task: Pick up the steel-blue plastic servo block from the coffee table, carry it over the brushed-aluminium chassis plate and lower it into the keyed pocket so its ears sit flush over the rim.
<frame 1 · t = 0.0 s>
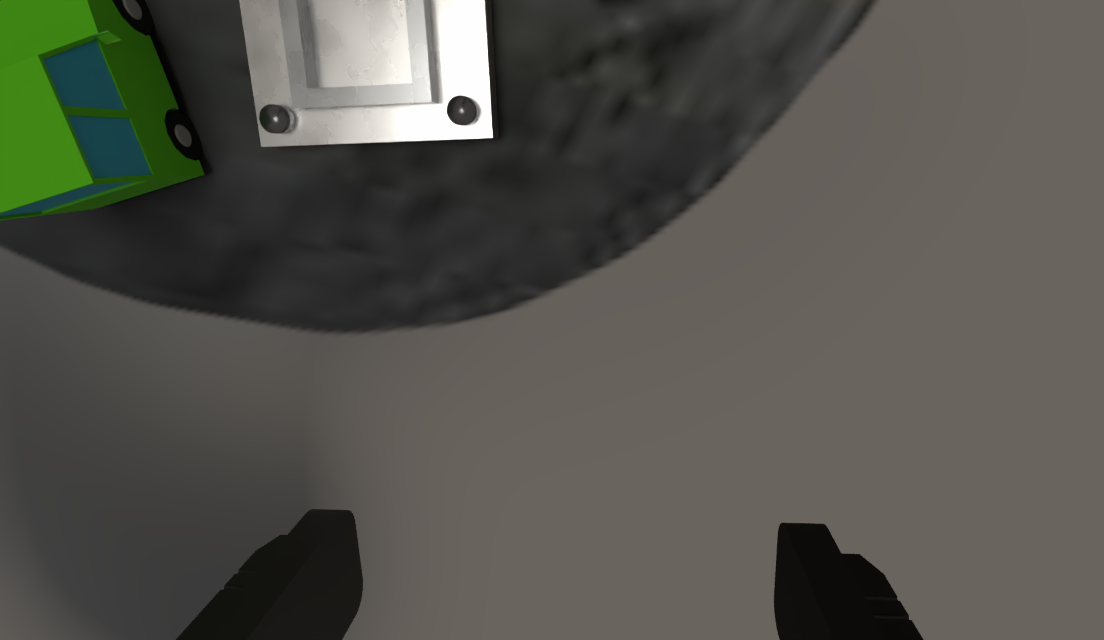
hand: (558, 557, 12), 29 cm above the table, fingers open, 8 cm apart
toy car: (121, 87, 41), on the table
chassis: (374, 18, 38), on the table
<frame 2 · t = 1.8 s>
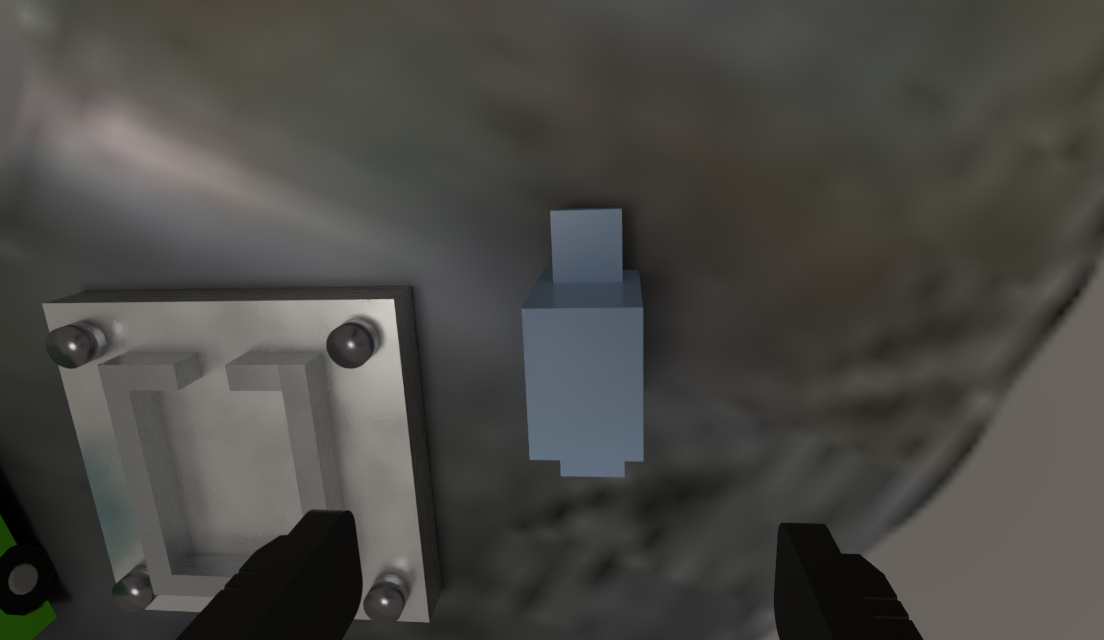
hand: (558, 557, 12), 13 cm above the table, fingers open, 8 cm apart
servo: (592, 333, 25), on the table
chassis: (270, 446, 28), on the table
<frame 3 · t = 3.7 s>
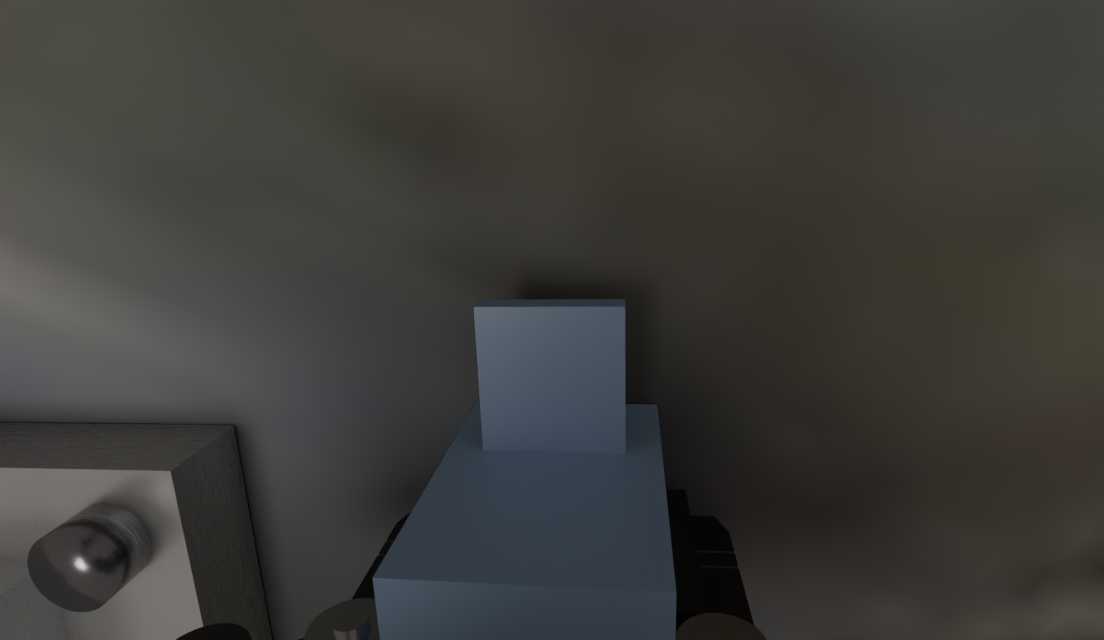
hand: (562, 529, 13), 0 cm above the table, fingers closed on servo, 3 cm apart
servo: (568, 514, 13), on the table, touching gripper
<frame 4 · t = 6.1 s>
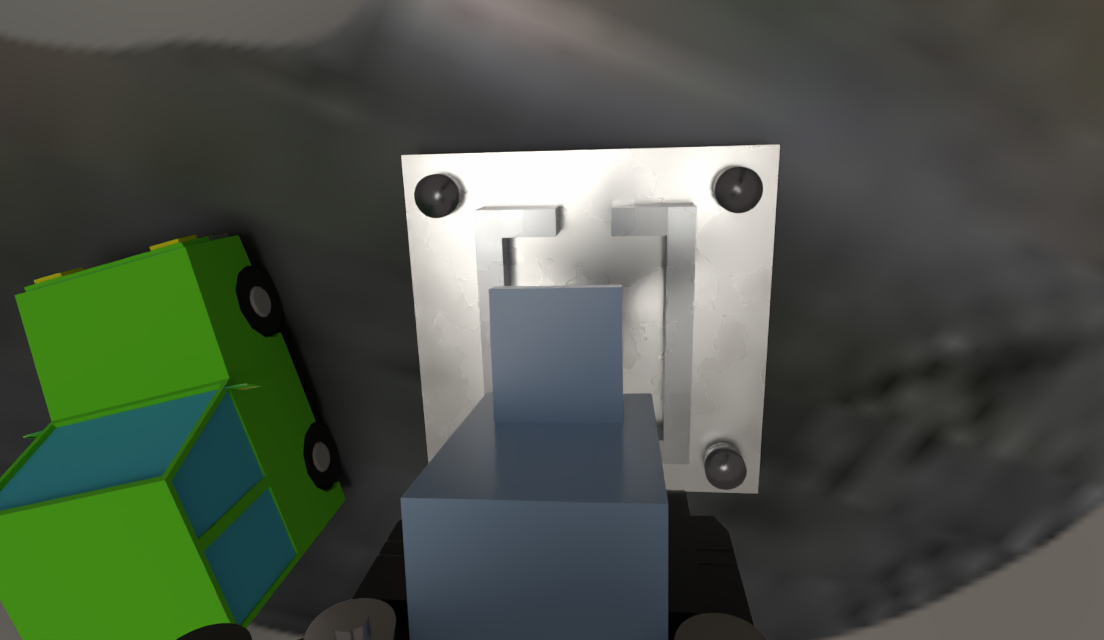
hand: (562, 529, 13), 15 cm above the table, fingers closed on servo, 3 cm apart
toy car: (233, 377, 31), on the table
servo: (570, 502, 14), point 14 cm above the table, tilted 7°, touching gripper
chassis: (589, 318, 28), on the table
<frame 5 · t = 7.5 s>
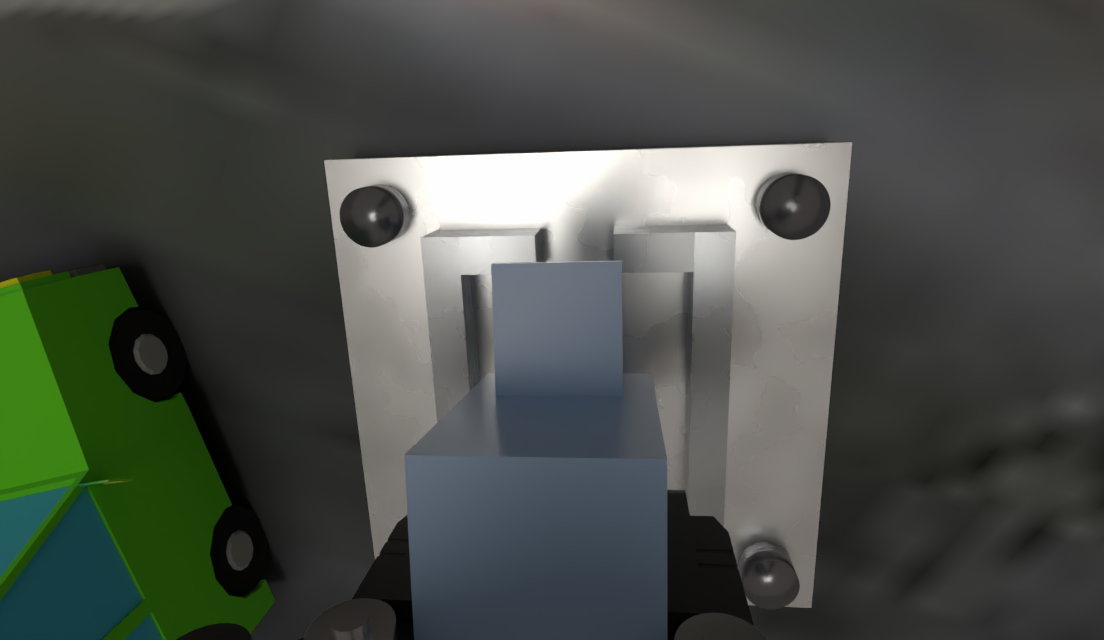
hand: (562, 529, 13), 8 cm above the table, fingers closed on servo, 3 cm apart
toy car: (131, 444, 24), on the table
servo: (570, 482, 14), point 7 cm above the table, tilted 9°, touching gripper
chassis: (585, 373, 21), on the table
when the fingers open (4 cm above the table, at t = 8.8 s): servo stays where it is, resting on chassis.
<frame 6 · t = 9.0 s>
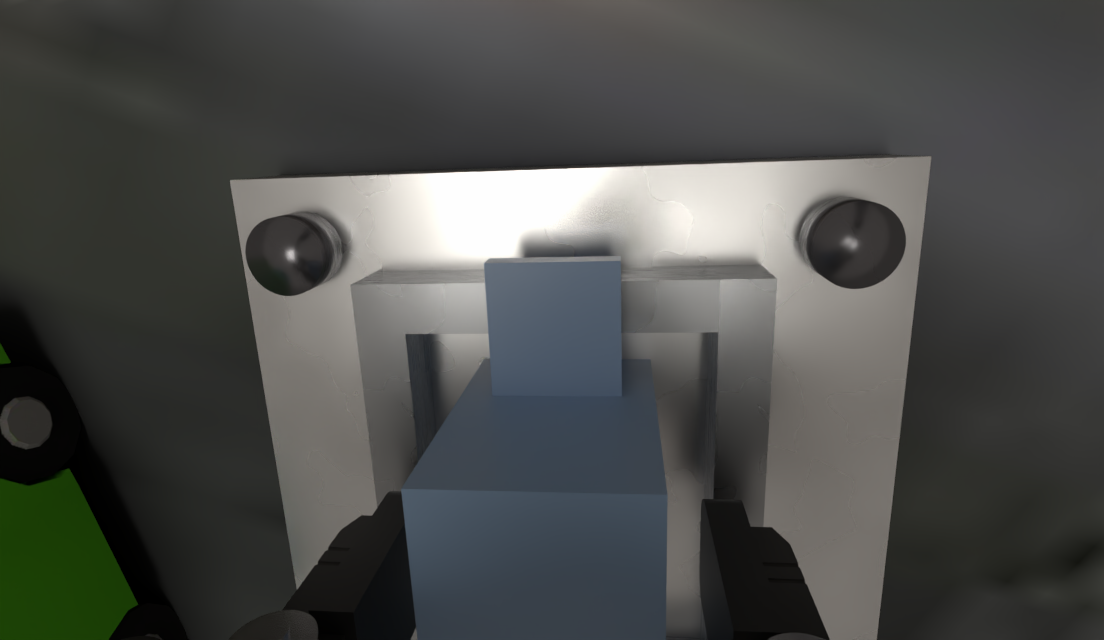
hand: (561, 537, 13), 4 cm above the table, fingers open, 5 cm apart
toy car: (22, 523, 20), on the table
servo: (569, 464, 15), point 2 cm above the table, touching chassis
chassis: (575, 444, 17), on the table
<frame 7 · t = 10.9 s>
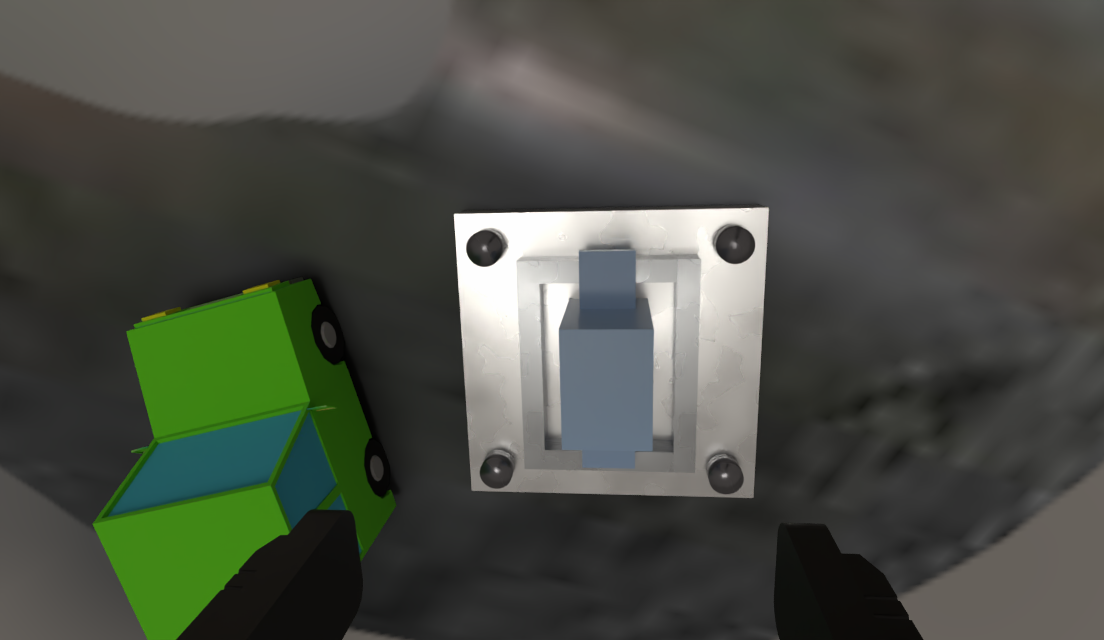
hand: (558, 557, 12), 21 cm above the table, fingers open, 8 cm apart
toy car: (298, 399, 35), on the table
servo: (608, 350, 30), point 2 cm above the table, touching chassis
chassis: (609, 348, 32), on the table
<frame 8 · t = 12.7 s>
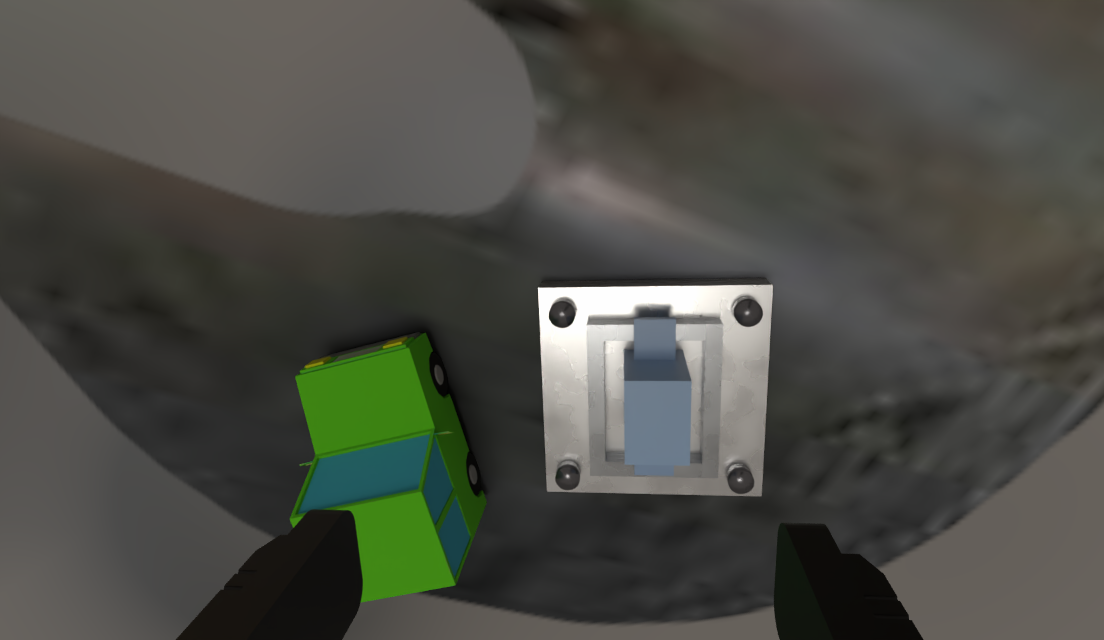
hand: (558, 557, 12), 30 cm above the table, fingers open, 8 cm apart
toy car: (409, 421, 46), on the table
servo: (652, 387, 41), point 2 cm above the table, touching chassis
chassis: (651, 383, 43), on the table
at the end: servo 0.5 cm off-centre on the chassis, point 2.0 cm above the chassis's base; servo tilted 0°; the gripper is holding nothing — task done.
